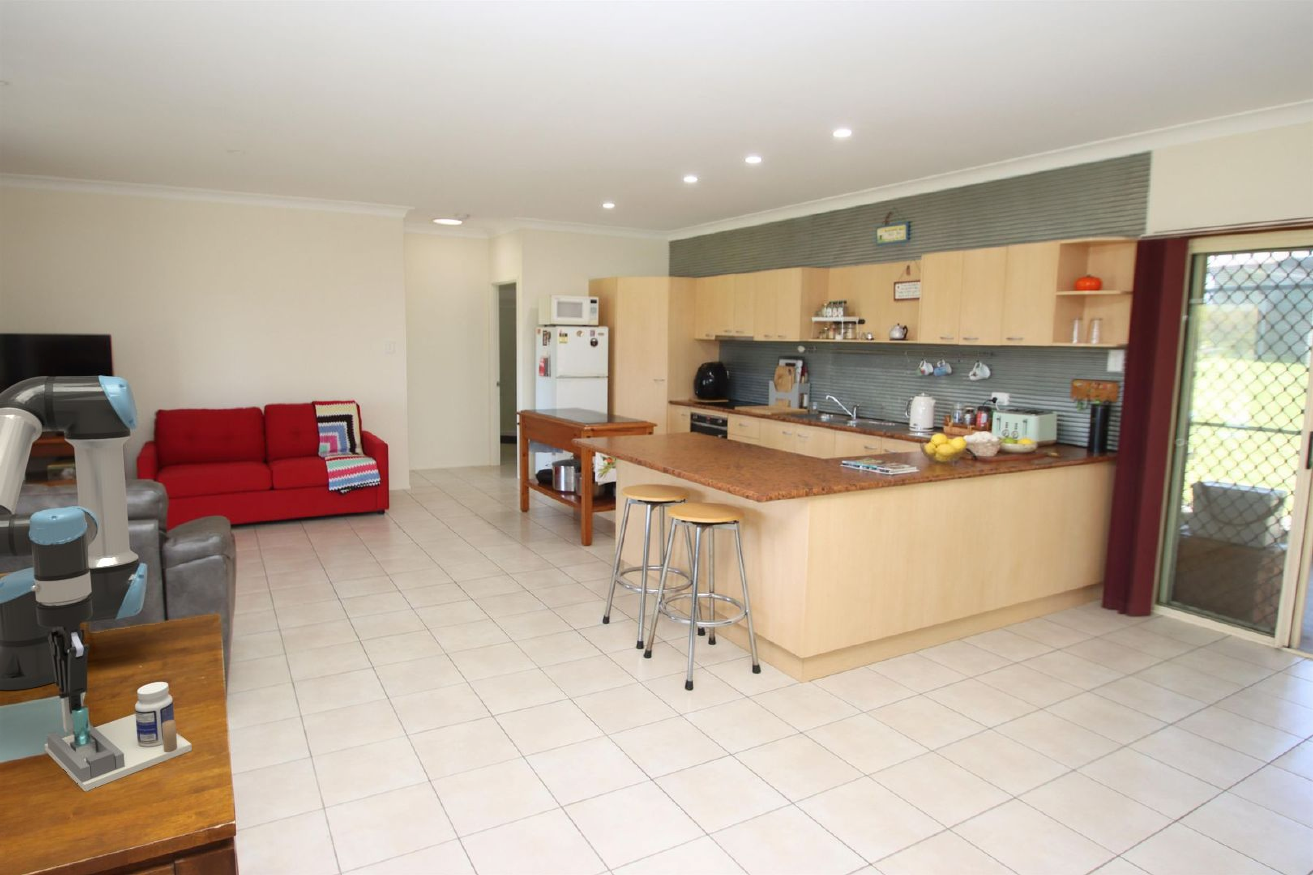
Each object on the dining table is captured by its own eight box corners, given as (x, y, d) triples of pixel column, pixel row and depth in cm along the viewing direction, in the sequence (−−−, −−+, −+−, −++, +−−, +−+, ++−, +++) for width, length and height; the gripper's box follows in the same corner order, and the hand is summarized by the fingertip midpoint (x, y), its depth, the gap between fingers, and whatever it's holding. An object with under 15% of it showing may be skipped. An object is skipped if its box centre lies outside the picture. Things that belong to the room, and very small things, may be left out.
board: (45, 750, 134) (42, 717, 133) (146, 715, 147) (144, 685, 146) (84, 791, 122) (82, 755, 122) (191, 750, 135) (189, 717, 134)
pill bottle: (169, 727, 140) (165, 677, 139) (180, 738, 137) (176, 686, 135) (132, 739, 136) (129, 687, 135) (143, 751, 132) (139, 697, 131)
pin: (71, 755, 131) (67, 709, 129) (90, 748, 133) (86, 703, 132) (76, 760, 129) (72, 714, 128) (96, 754, 131) (92, 708, 130)
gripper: (24, 596, 130) (36, 724, 133) (49, 613, 122) (60, 749, 125) (77, 585, 136) (87, 708, 139) (103, 601, 128) (113, 731, 131)
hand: (74, 727), depth 132 cm, fingers closed
